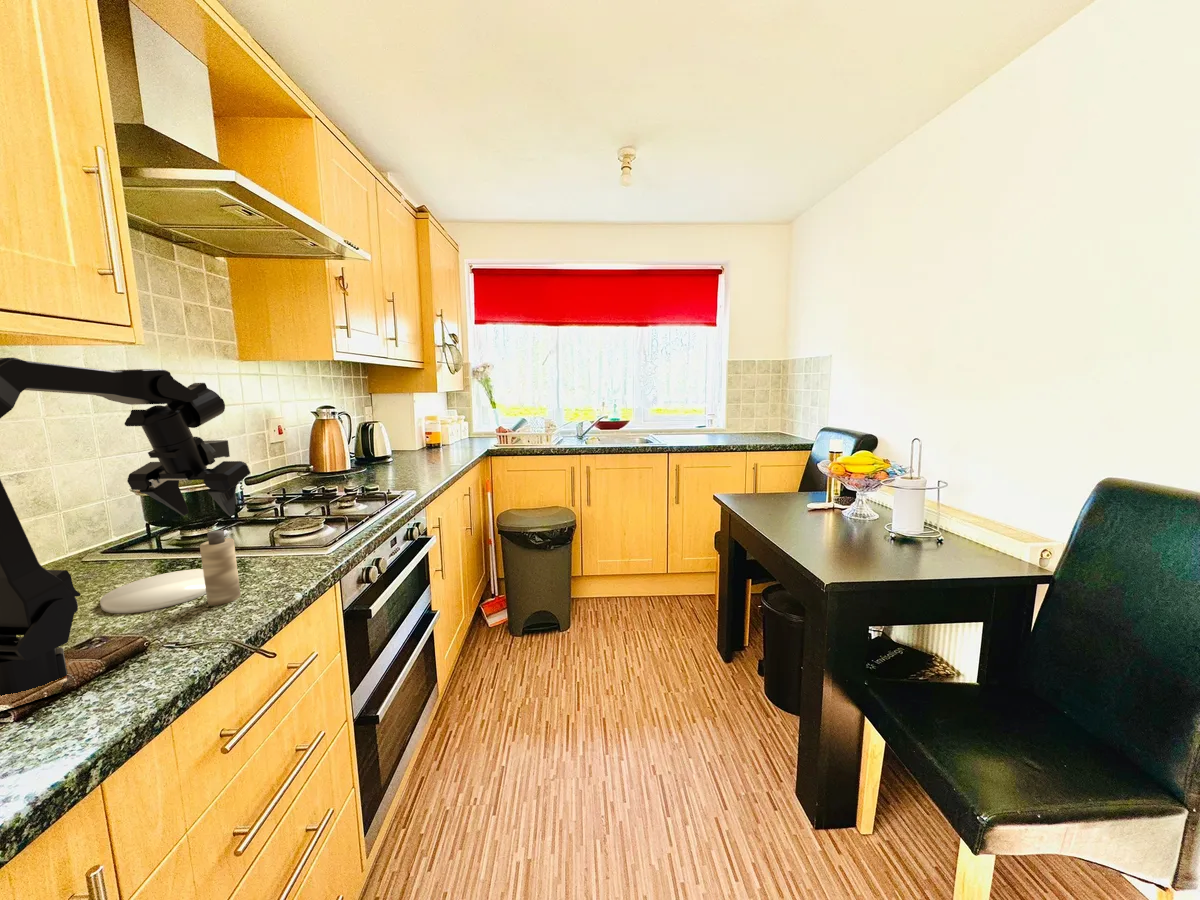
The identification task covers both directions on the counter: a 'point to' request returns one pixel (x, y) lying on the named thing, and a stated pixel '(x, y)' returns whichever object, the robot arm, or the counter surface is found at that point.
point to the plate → (155, 592)
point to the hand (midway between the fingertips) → (208, 514)
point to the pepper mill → (220, 569)
